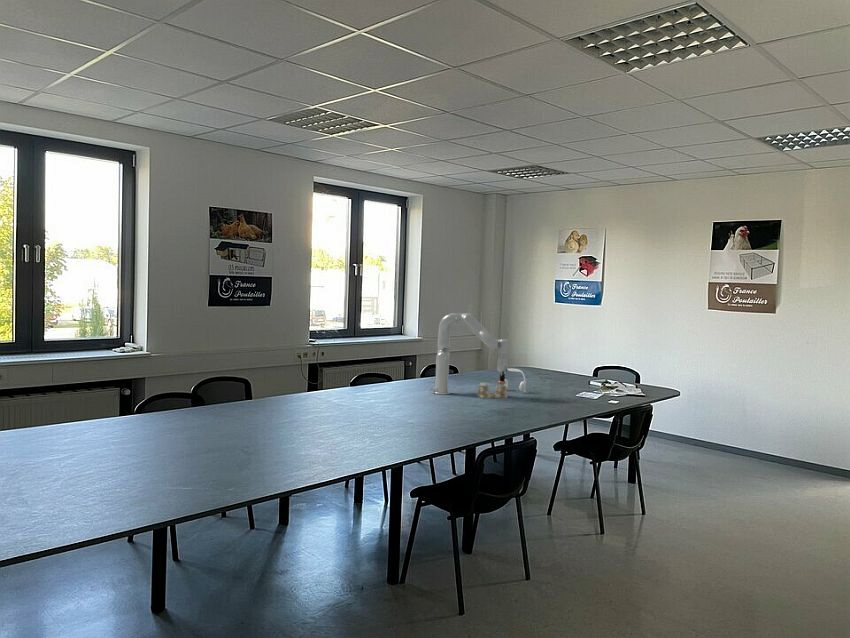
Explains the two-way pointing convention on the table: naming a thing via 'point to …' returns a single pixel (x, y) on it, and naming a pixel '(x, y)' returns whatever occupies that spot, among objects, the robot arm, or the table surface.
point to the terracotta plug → (501, 383)
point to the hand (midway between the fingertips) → (502, 380)
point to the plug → (483, 384)
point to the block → (484, 393)
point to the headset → (522, 384)
